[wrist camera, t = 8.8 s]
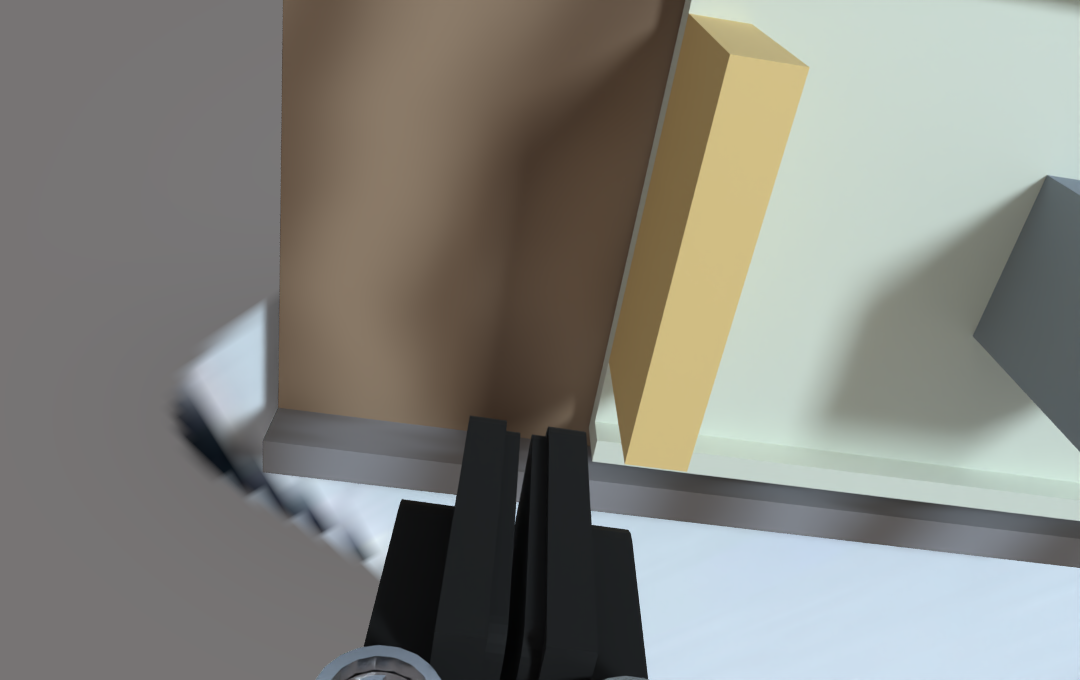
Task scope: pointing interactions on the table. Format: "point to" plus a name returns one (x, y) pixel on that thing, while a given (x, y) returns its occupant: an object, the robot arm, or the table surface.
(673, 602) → the table surface
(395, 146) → the guide base
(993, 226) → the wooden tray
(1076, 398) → the slate block
